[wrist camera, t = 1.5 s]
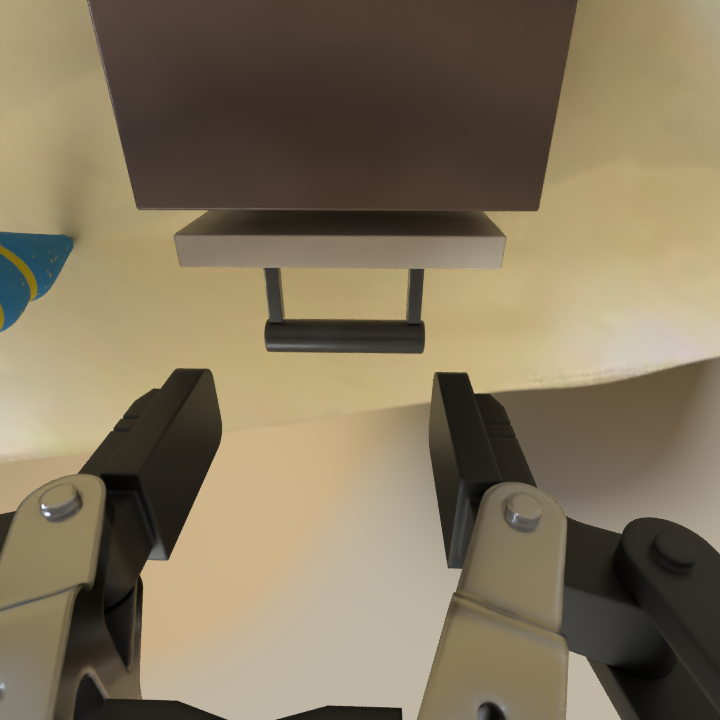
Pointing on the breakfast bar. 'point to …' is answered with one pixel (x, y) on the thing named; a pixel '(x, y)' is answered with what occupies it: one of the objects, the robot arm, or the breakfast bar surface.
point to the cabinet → (335, 101)
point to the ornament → (28, 270)
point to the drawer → (342, 263)
